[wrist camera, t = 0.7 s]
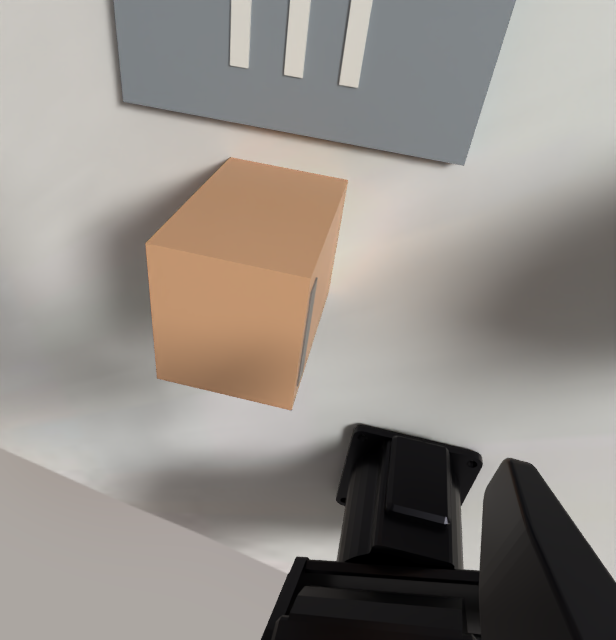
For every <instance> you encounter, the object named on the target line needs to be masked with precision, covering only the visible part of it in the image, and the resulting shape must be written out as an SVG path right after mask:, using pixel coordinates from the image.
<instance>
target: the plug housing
mask: <svg viewBox="0 0 616 640" xmlns="http://www.w3.org/2000/svg"><path fill="white" fill-rule="evenodd" d="M347 184H348V180H344V179H339V178H334V177H329V176H324V175H319V174H314V173H308V172H303V171H298V170H293V169H288V168H283V167H278V166H272V165H267V164H262V163H257V162H252V161H247V160H242V159H236V158H231V157H230V158H229V159H228V160H227V161H226V162H225V163H224V164H223V165H222V166H221V167H220V168H219V169H218V170H217V171H216V172H215V173H214V174H213V175H212V176H211V177H210V178H209V179H208V180H207V181H206V182H205V183H204V184H203V185H202V186H201V187H200V188H199V189H198V190H197V191H196V192H195V193H194V194H193V195H192V196H191V197H190V198H189V200H188V201H187V202H186V203H185V204H184V205H183V206H182V207H181V208H180V209H179V210H178V211H177V212H176V213H175V214H174V215H173V216H172V217H171V218H170V219H169V220H168V221H167V222H166V223H165V224H164V225H163V226H162V227H161V228H160V229H159V230H158V231H157V232H156V233H155V234H154V235H153V236H152V237H151V238H150V239H149V240H148V241H147V242H146V243H145V244H146V256H147V267H148V279H149V291H150V302H151V314H152V325H153V337H154V349H155V360H156V372H157V379H162V380H166V381H170V382H174V383H178V384H183V385H187V386H191V387H195V388H199V389H204V390H208V391H212V392H216V393H220V394H225V395H229V396H233V397H237V398H241V399H246V400H250V401H254V402H258V403H262V404H267V405H271V406H275V407H279V408H283V409H288V410H292V407H293V404H294V401H295V398H296V394H297V391H298V388H299V385H300V382H301V378H302V375H303V372H304V369H305V366H306V363H307V359H308V356H309V353H310V350H311V347H312V343H313V340H314V337H315V334H316V331H317V327H318V324H319V321H320V318H321V315H322V312H323V308H324V305H325V302H326V299H327V296H328V292H329V287H330V281H331V275H332V270H333V264H334V258H335V253H336V247H337V241H338V235H339V230H340V224H341V218H342V213H343V207H344V201H345V195H346V190H347Z"/></svg>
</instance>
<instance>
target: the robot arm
mask: <svg viewBox="0 0 616 640" xmlns="http://www.w3.org/2000/svg"><path fill="white" fill-rule="evenodd" d="M482 465H483V462H482V456H481V455H480V454H479V453H477V452H475V451H470V450H466V449H462V448H458V447H454V446H449V445H445V444H441V443H437V442H433V441H428V440H424V439H420V438H416V437H411V436H407V435H403V434H399V433H395V432H390V431H386V430H382V429H378V428H373V427H369V426H365V425H360V426H357V427H355V429H354V431H353V435H352V438H351V442H350V446H349V450H348V453H347V457H346V461H345V465H344V469H343V472H342V476H341V480H340V484H339V487H338V491H337V496H336V501H337V502H338V503H339V504H341V505H343V506H345V512H344V519H343V525H342V531H341V537H340V543H339V549H338V556H337V561H324V560H309V558H308V557H296V558H295V561H294V563H293V566H292V568H291V570H290V573H288V575H287V578H286V580H285V583H284V585H283V587H282V590H281V592H280V595H279V597H278V600H277V602H276V605H275V607H274V609H273V612H272V614H271V617H270V619H269V621H268V624H267V626H266V629H265V631H264V633H263V636H262V638H261V640H616V582H615V581H614V579H613V578H612V576H611V575H610V573H609V572H608V571H607V569H606V568H605V566H604V565H603V563H602V562H601V561H600V559H599V558H598V556H597V555H596V553H595V552H594V551H593V549H592V548H591V546H590V545H589V543H588V542H587V541H586V539H585V538H584V536H583V535H582V533H581V532H580V531H579V529H578V528H577V526H576V525H575V523H574V522H573V521H572V519H571V518H570V516H569V515H568V513H567V512H566V511H565V509H564V508H563V506H562V505H561V503H560V502H559V501H558V499H557V498H556V496H555V495H554V493H553V492H552V491H551V489H550V488H549V486H548V485H547V483H546V482H545V481H544V479H543V478H542V476H541V475H540V473H539V472H538V471H537V469H536V468H535V467H534V466H533V465H532V464H530V463H528V462H524V461H520V460H516V459H513V458H506V459H505V460H503V462H502V463H501V464H500V466H499V468H498V469H497V471H496V473H495V474H494V476H493V478H492V479H491V481H490V483H489V484H488V486H487V488H486V490H485V494H484V500H483V517H482V535H481V554H480V571H478V570H464V569H463V547H462V525H461V505H462V503H463V502H464V500H465V498H466V496H467V494H468V492H469V490H470V488H471V487H472V485H473V483H474V481H475V479H476V477H477V475H478V473H479V472H480V470H481V468H482Z"/></svg>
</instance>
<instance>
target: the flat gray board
mask: <svg viewBox="0 0 616 640" xmlns="http://www.w3.org/2000/svg"><path fill="white" fill-rule="evenodd" d="M113 1H114V11H115V22H116V32H117V42H118V53H119V63H120V73H121V84H122V94H123V102H128V103H133V104H139V105H144V106H149V107H154V108H160V109H165V110H170V111H176V112H181V113H186V114H192V115H197V116H202V117H208V118H213V119H218V120H224V121H229V122H234V123H240V124H245V125H250V126H256V127H261V128H266V129H272V130H277V131H282V132H287V133H293V134H298V135H303V136H309V137H314V138H319V139H325V140H330V141H335V142H341V143H346V144H351V145H357V146H362V147H367V148H373V149H378V150H383V151H389V152H394V153H399V154H405V155H410V156H415V157H421V158H426V159H431V160H436V161H442V162H447V163H452V164H458V165H463V166H464V164H465V161H466V157H467V154H468V151H469V148H470V145H471V141H472V138H473V135H474V132H475V129H476V126H477V122H478V119H479V116H480V113H481V110H482V106H483V103H484V100H485V97H486V94H487V91H488V87H489V84H490V81H491V78H492V75H493V71H494V68H495V65H496V62H497V59H498V56H499V52H500V49H501V46H502V43H503V40H504V36H505V33H506V30H507V27H508V24H509V21H510V17H511V14H512V11H513V8H514V5H515V1H516V0H113Z"/></svg>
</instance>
